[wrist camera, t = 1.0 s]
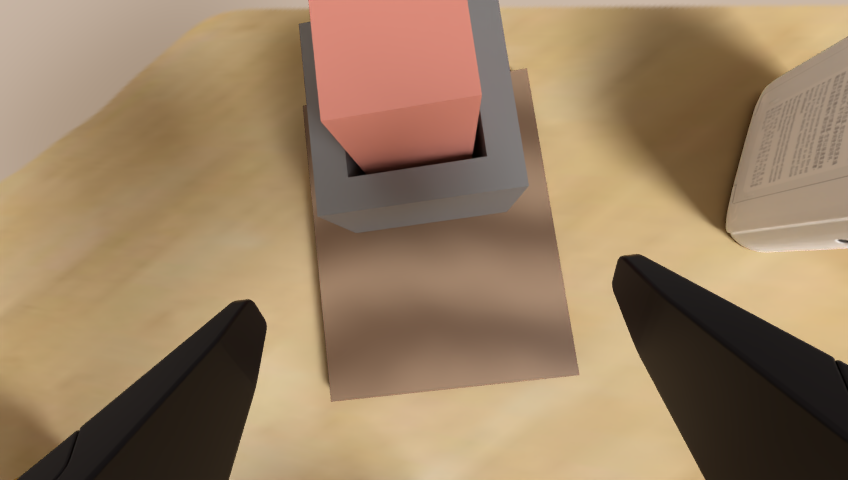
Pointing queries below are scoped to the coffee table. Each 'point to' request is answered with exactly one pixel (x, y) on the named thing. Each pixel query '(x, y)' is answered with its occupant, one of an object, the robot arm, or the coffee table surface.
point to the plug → (397, 80)
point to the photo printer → (796, 161)
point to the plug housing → (433, 184)
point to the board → (447, 293)
